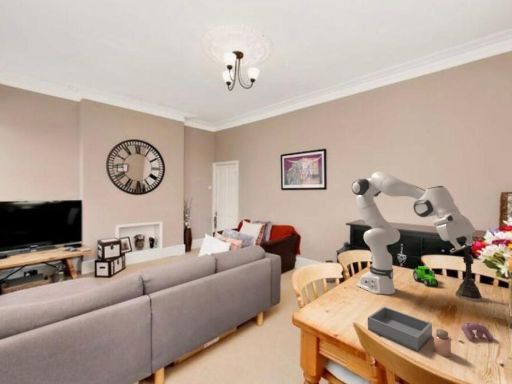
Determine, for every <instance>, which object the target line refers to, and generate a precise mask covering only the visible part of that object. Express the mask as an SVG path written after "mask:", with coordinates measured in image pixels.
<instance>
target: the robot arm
mask: <svg viewBox="0 0 512 384" xmlns="http://www.w3.org/2000/svg"><path fill="white" fill-rule="evenodd" d="M351 190H352V192H353V194H355V195H356V198H355V202H356V205H357V208H358V211H359V213H360V215H361V217H362V219H363V222H364V223H365V224H366V225H368V226H369V227H370V228H371V229H369V230H366V231H365V232H364V234H363V240H364V242H365V244H366V245H367V246H368V247H369V249H370V251H371V258H372V259H371V260H372V264H371V265H370V266H369V267H367V268H368V270H369V271H367V272H365V273H364V274H362V275H361V277H360V279H359V281H357V282H356V285H357V286H356V287H358V288H360V287H361V289H363V290H365V291H367V290H368V292H369V293H373V294H375V295H393V294H395V293H396V288H395V284H394V268H393V256H392V254H391V253H390V252H389V251H388V247H387V246H388V245H393V244H395V243H397V242H399V240H400V238H401V233H400V231H399V230H398V229H397V228H396V227H394V226H392V225H391V224H390V223H389V222H388V221H387V220H386V219H385V218H384V217H383V214H382V213H381V211H380V209H379V208H378V206H377V204H376V201H375V200H374V197H378V196H379V195H380V194H381V193H383V194H384V195H387V196H388V197H394V198H395V197H397V198H398V197H410V198H414V199H416V201H414V203H413V212H414V213H415V214H416V215H417V216H418V217H420V218H430V217H434V216H437V217H436V218H435V219H434V220H433V221H432V223H433V225H434V226H435V229H436V232H437V233H438V235H439V237H440V239H441V240H442V241H444V242H447V241H448V242H450V244H452V246H454V248H456V249H460V248H462V245H461V243H459V242H458V240H457V239H458V238H462V237H465V239H466V242H467V243H468V245H471V244H474V245H475V243H474V240H472V238H473V235H472V234H474V233H476V229H475V227H474V225H473V224H472V222H471V221H470V219H469V218H467V217H466V215H465V216H464V215H463V214H462V213H461V211H460V209H459V207H457V205H456V204H455V201H454V197H452V194H451V193H450V191H449V190H448V189H447V188H446V187H445V186H443V185H437V186H432V187H429V188H427V189H424V188H421V187H419V186H417V185H414V184H411V183H409V182H406V181H403V180H401V179H398V178H397V177H395V176H393V175H391V174H388V173H386V172H384V171H379V170H378V171H376V172H373V173H372V174H371V177H365V178H359V179H356V180H353V182H352V184H351Z"/></svg>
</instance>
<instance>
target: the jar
mask: <svg viewBox="0 0 512 384" xmlns="http://www.w3.org/2000/svg"><path fill="white" fill-rule="evenodd" d="M433 347H434V349H433V351H434V352H435V354H437V355H439V356H441V357H444V358H445V357H446V358H450V357H451V356H452V338H451V337H450V336H449V332H448V331H446V330H445V329H440V328H438V329H436V333H433Z"/></svg>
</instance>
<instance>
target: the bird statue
mask: <svg viewBox="0 0 512 384" xmlns="http://www.w3.org/2000/svg"><path fill="white" fill-rule="evenodd" d="M472 240H473V241H475V238H474V237H472ZM471 246H472V244H471V245H468V243H467V241H465V243H464V244H463V245H461V247H462V248H460V249H456V248H455V247H454V248H452V249H450V250H449V256H452V255H453V254H456V253H458V252H460V251H463V254H464V256H463V257H462V260H463V263H464V264H465V270H464V271H465V277H463V281H462V282H461V283H460V285H459V287H458V289H457V290H456V291H455V296H456V297H458V298H460V299H461V300H466V301H469V302H479V303H480V302H482V300H483V296H482V294H481V292H480V289H479V288H478V286H477V284H476V282H475V279H473V278H472V272H473V270H472V265H473V264H474V261H475V259H474V258H473V255H472V254H471V253H470V251H471V250H473V249H471Z"/></svg>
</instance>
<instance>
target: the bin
mask: <svg viewBox="0 0 512 384" xmlns="http://www.w3.org/2000/svg"><path fill="white" fill-rule="evenodd" d="M367 330H369V331H370V332H373V333H374V334H377V335H380V336H381V337H383V338H386V339H388V340H390V341H393V342H395V343H397V344H399V345H401V346H404V347H406V348H408V349H411V350H412V351H415V352H417V353H419V352H420V351H421V349H422V348H423V347H424V346H425V345H426V344H427V342H429V340H430V339H431V338H432V337H433V323H431V322H429V321H427V320H423V319H420V318H417V317H414V316H412V315H409V314H406V313H404V312H401V311H398V310H395V309H392V308H389V307H386V306H383V307H381V308H380V309H378V310H376V311H375V312H373V313H372V314H371V315H369V316H368V317H367Z"/></svg>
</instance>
